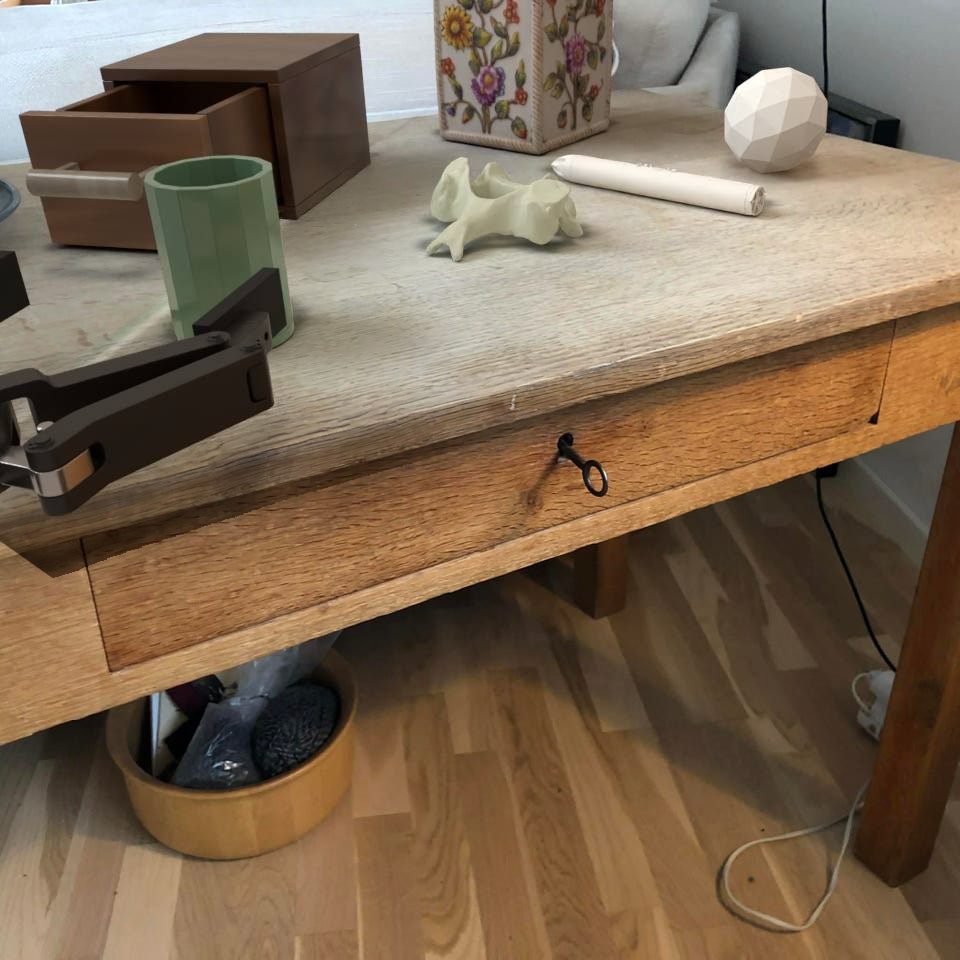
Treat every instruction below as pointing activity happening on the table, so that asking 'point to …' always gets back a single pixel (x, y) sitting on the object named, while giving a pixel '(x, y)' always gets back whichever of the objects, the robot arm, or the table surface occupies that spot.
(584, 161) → the marker
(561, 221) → the spine bone
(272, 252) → the pen cup
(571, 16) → the decorative jar
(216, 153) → the drawer
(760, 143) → the geometric ball
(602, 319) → the table surface
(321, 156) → the cabinet
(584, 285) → the table surface
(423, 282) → the table surface
